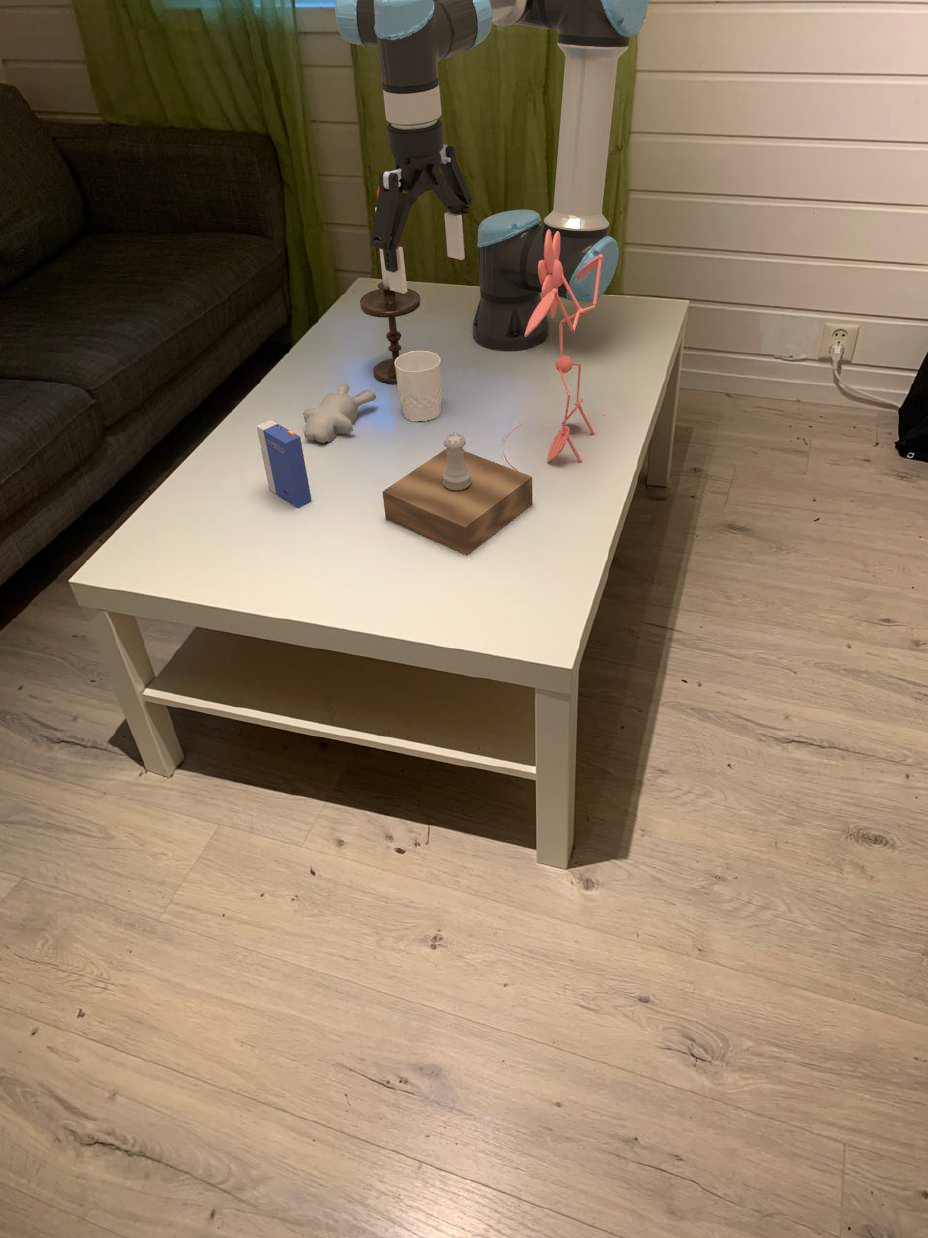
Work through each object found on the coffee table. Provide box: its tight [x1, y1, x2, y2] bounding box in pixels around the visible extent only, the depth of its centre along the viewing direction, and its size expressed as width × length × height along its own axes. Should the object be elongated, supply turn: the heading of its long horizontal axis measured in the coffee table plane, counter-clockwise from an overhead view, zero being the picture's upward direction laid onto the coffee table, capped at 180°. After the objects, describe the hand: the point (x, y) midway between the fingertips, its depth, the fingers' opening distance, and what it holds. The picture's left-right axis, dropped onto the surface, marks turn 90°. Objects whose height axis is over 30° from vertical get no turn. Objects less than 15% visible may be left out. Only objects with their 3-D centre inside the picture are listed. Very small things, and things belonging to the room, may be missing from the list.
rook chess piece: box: [442, 432, 472, 491], centre depth 148 cm, size 4×4×8 cm
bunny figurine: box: [302, 383, 377, 444], centre depth 175 cm, size 10×5×15 cm
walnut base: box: [382, 447, 533, 556], centre depth 152 cm, size 16×16×5 cm
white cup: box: [395, 350, 442, 422], centre depth 175 cm, size 8×8×10 cm
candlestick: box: [359, 185, 421, 385], centre depth 179 cm, size 11×11×35 cm
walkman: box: [256, 419, 312, 509], centre depth 156 cm, size 8×3×12 cm, turn 44°
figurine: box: [500, 229, 607, 471], centre depth 157 cm, size 15×26×35 cm, turn 162°
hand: (428, 273), depth 150 cm, fingers open, 13 cm apart
